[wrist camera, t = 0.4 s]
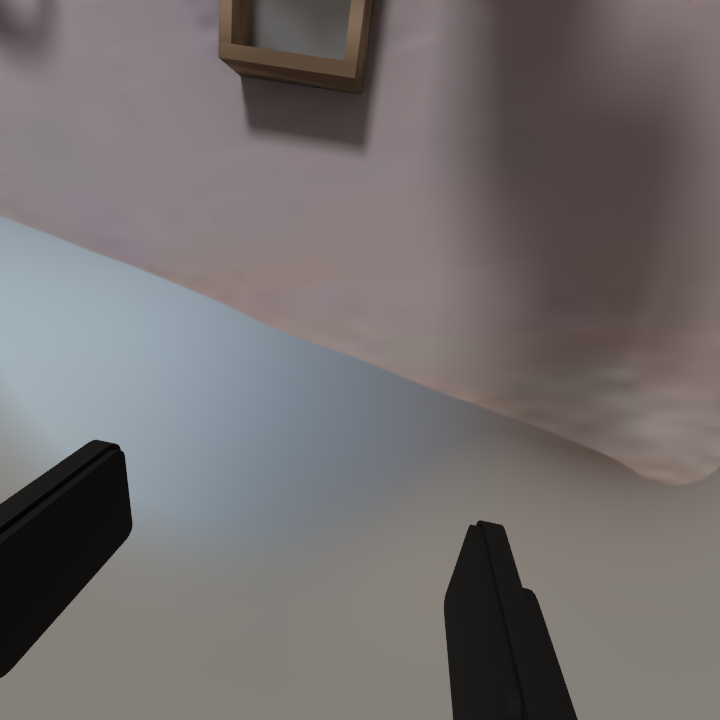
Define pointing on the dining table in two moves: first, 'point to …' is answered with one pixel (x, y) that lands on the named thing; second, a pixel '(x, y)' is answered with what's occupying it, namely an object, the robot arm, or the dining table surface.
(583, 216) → the dining table surface
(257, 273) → the dining table surface
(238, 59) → the wooden tray
